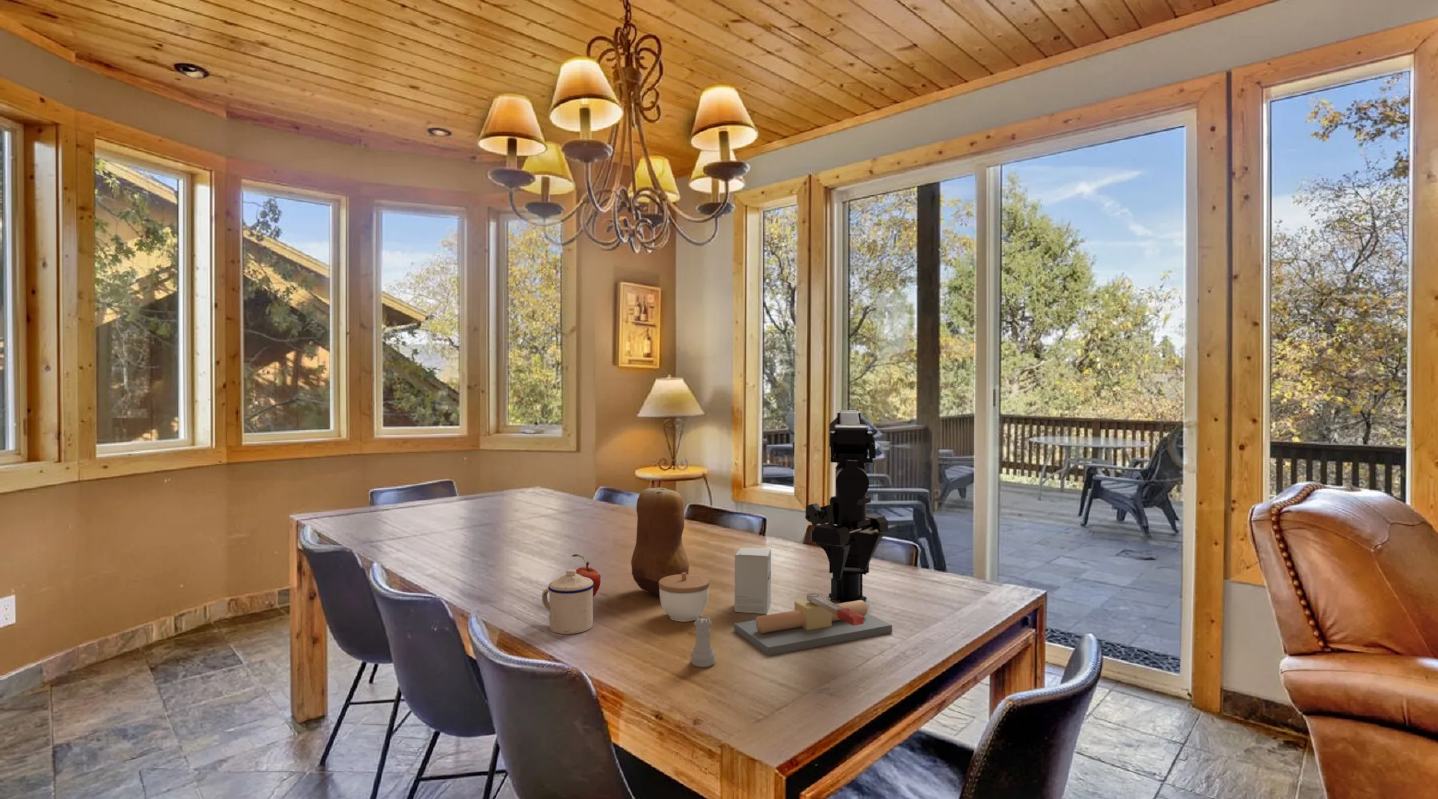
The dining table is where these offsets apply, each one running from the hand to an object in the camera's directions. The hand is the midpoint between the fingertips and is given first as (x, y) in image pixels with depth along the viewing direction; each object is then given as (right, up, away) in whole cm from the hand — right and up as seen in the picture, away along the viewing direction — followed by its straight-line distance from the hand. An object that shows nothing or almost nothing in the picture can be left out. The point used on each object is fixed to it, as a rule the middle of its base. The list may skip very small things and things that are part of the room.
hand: (850, 574), depth 128 cm
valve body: (-6, -13, +7) cm, 16 cm away
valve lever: (-3, -7, +1) cm, 8 cm away
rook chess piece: (-28, -14, -8) cm, 32 cm away
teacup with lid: (-56, -14, +11) cm, 59 cm away
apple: (-56, -13, +29) cm, 65 cm away
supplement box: (-17, -13, +22) cm, 31 cm away
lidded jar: (-32, -13, +16) cm, 38 cm away
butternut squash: (-39, -13, +33) cm, 53 cm away
